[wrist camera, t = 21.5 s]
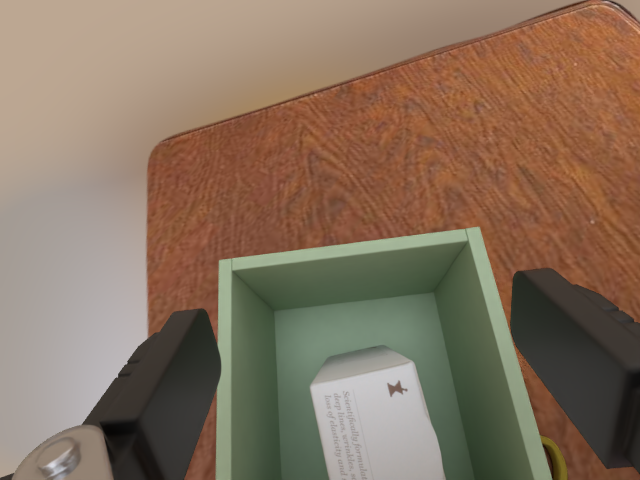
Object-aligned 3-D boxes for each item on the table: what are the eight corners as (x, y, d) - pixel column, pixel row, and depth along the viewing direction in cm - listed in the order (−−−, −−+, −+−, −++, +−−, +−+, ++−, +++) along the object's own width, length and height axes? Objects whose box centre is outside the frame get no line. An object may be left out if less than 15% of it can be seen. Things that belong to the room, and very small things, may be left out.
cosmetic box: (324, 357, 26) (296, 378, 14) (387, 342, 26) (413, 352, 14) (345, 454, 24) (334, 570, 12) (413, 439, 24) (466, 542, 12)
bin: (439, 284, 28) (479, 226, 19) (487, 492, 23) (577, 563, 13) (266, 305, 29) (218, 259, 19) (274, 510, 24) (213, 589, 14)
